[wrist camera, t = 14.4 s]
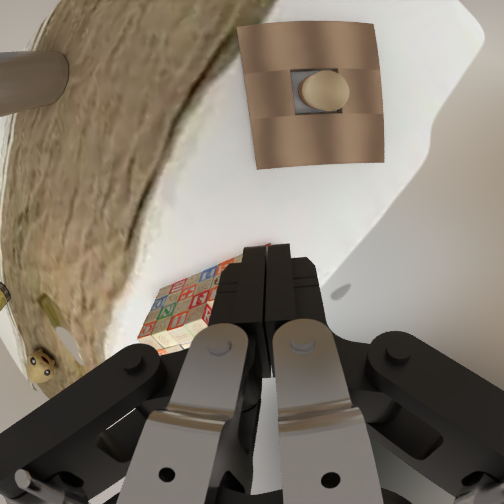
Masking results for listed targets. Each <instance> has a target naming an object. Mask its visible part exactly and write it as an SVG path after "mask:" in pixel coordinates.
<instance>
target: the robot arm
mask: <svg viewBox="0 0 504 504" xmlns="http://www.w3.org/2000/svg"><path fill="white" fill-rule="evenodd" d="M68 74H69V70H68V63H67V60H66V58H65V57H64V56H63V54H61V53H59V52H55V51H20V52H3V53H0V117H3V116H6V115H10V114H13V113H17V112H21V111H25V110H29V109H33V108H37V107H42V106H46V105H50V104H52V103H54V102H55V101H56V100H57V99H58V98H59V97H60V96H61V94H62V93H63V91H64V89H65V87H66V84H67V80H68ZM218 284H219V285H218V287H217V291H216V295H215V299H214V303H213V307H212V311H211V315H210V319H209V323H208V327H206V328H204V329H203V330H201V331H200V332H199V333H198V334H197V335H196V336H195V337H194V338H193V340H192V342H191V345H190V347H189V348H186V349H184V350H181V351H177V352H173V353H168V354H164V355H159V354H158V352H157V350H156V349H155V348H154V347H152V346H151V345H148V344H143V343H138V344H132V345H129V346H127V347H125V348H123V349H122V350H120V351H119V352H117V353H116V354H114V355H113V356H112V357H110V358H109V359H107V360H106V361H104V362H103V363H102V364H100V365H99V366H97V367H96V368H94V369H93V370H91V371H90V372H89V373H87V374H86V375H84V376H83V377H81V378H80V379H79V380H77V381H76V382H74V383H73V384H71V385H70V386H68V387H67V388H66V389H64V390H63V391H61V392H60V393H58V394H57V395H56V396H54V397H53V398H51V399H50V400H48V401H47V402H45V403H44V404H43V405H41V406H40V407H38V408H37V409H35V410H34V411H32V412H31V413H30V414H28V415H27V416H25V417H24V418H22V419H21V420H19V421H18V422H16V423H15V424H14V425H12V426H11V427H9V428H8V429H6V430H5V431H3V432H2V433H0V494H1V495H3V496H4V498H5V499H6V502H7V504H91V503H89V502H88V501H89V500H90V499H92V498H93V497H95V496H96V495H98V494H100V493H101V492H102V491H104V490H105V489H107V488H109V487H110V486H112V485H113V484H114V483H116V482H118V481H119V480H120V479H122V478H123V477H125V476H126V477H125V480H124V482H123V485H122V488H121V491H120V492H119V493H117V494H116V495H114V496H113V497H112V498H110V499H109V500H107V501H106V502H105V503H103V504H412V503H411V502H410V501H408V500H407V499H405V498H404V497H402V496H400V495H398V494H397V493H394V492H392V491H389V490H387V489H383V488H380V484H379V479H378V475H377V470H376V465H375V461H374V457H373V452H372V448H371V444H370V440H369V436H368V434H369V435H370V436H371V437H372V438H374V439H375V440H376V441H378V442H379V443H380V444H381V445H383V446H384V447H385V448H387V449H388V450H389V451H391V452H392V453H393V454H395V455H396V456H397V457H398V458H400V459H401V460H403V461H404V462H405V463H407V464H408V465H409V466H411V467H412V468H414V469H415V470H416V471H418V472H419V473H420V474H422V475H423V476H425V477H426V478H428V479H429V480H431V481H432V482H433V483H435V484H436V485H438V486H439V487H441V488H442V489H444V490H445V491H447V492H448V493H450V494H451V495H453V496H454V497H455V500H454V502H453V504H504V391H503V390H501V389H500V388H498V387H496V386H495V385H493V384H491V383H490V382H488V381H487V380H485V379H483V378H482V377H480V376H479V375H477V374H475V373H474V372H472V371H470V370H469V369H467V368H465V367H464V366H462V365H461V364H459V363H457V362H456V361H454V360H452V359H451V358H449V357H447V356H446V355H444V354H443V353H441V352H439V351H438V350H436V349H434V348H433V347H431V346H429V345H428V344H426V343H424V342H423V341H421V340H419V339H418V338H416V337H414V336H413V335H411V334H408V333H406V332H401V331H390V332H385V333H383V334H380V335H379V336H377V337H376V338H375V339H374V340H373V341H372V342H371V344H366V343H359V342H352V341H348V340H345V339H342V338H340V337H339V336H337V335H335V334H334V333H333V332H332V331H331V330H330V328H329V327H328V325H327V322H326V318H325V313H324V307H323V302H322V297H321V292H320V287H319V282H318V278H317V273H316V268H315V265H314V264H313V263H312V262H311V261H310V260H309V259H308V258H307V257H301V258H291V254H290V244H277V245H268V248H267V247H266V246H254V247H244V250H243V256H242V262H240V263H229V265H228V266H227V267H226V268H225V269H224V270H223V271H222V272H221V275H220V279H219V283H218ZM271 366H272V373H273V377H275V378H276V390H277V403H278V415H279V416H278V428H279V443H280V457H281V472H282V487H283V489H281V490H277V491H273V492H268V493H263V494H258V495H250V494H251V488H252V481H253V453H254V447H255V441H256V434H257V428H258V421H259V413H260V407H261V391H262V378H271ZM134 408H136V409H135V410H133V409H134ZM132 410H133V411H132ZM130 411H132V412H131V413H129V412H130ZM128 413H129V414H128ZM126 414H128V415H127V416H125V415H126ZM124 416H125V417H124ZM122 417H124V418H123V419H121V418H122ZM119 419H121V420H120V421H119V422H117V421H118V420H119ZM115 422H117V423H116V424H114V423H115ZM113 424H114V425H113ZM111 425H113V426H112V427H110V426H111ZM108 427H110V428H109V429H107V428H108ZM106 429H107V430H106Z"/></svg>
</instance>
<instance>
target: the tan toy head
mask: <svg viewBox="0 0 504 504" xmlns="http://www.w3.org/2000/svg"><path fill="white" fill-rule="evenodd" d="M54 364H55V361H54V360H51V359H50V357H49V356H48V355H46V354H45V353H43V350H42V349H39V350H38V351H36V352H33V353H31V354H30V355H29V356H28V359H27V364H26V368H27V374H28V377H29V379H30V380H31V381H32V382H34V383H42V382H45V381H47V380H49V379H51V378H52V377H53V375H54Z"/></svg>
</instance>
